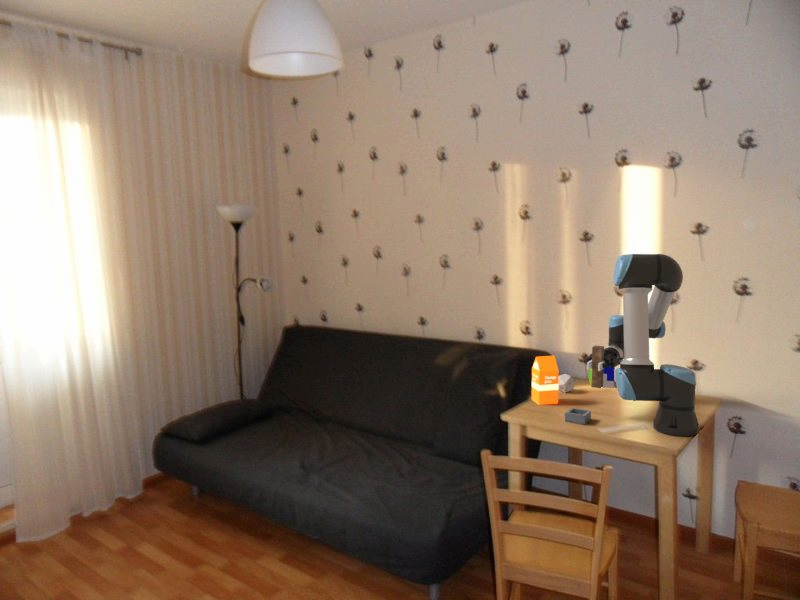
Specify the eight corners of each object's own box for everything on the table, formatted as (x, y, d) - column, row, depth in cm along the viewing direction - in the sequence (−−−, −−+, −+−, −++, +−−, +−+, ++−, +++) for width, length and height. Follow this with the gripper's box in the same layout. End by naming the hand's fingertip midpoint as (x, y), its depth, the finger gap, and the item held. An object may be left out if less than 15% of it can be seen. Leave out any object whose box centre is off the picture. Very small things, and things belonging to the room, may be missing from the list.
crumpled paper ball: (553, 394, 254) (565, 380, 249) (549, 381, 261) (561, 367, 256) (569, 399, 256) (580, 385, 251) (565, 386, 263) (576, 372, 258)
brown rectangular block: (603, 386, 221) (604, 346, 219) (600, 388, 218) (601, 347, 216) (594, 384, 223) (595, 345, 221) (591, 386, 220) (592, 346, 218)
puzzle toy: (614, 388, 261) (614, 367, 260) (591, 387, 263) (591, 366, 262) (610, 382, 271) (610, 362, 270) (588, 381, 273) (589, 361, 272)
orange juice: (531, 399, 245) (531, 354, 242) (550, 398, 246) (550, 353, 244) (539, 405, 237) (539, 358, 235) (558, 403, 239) (559, 357, 236)
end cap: (590, 419, 217) (591, 410, 217) (584, 424, 211) (584, 415, 211) (571, 416, 222) (571, 407, 221) (565, 421, 216) (565, 412, 215)
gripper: (631, 367, 229) (615, 379, 210) (590, 362, 239) (571, 373, 220) (632, 349, 228) (615, 359, 209) (591, 345, 238) (572, 354, 219)
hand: (593, 366), depth 215 cm, fingers closed on brown rectangular block, 3 cm apart
